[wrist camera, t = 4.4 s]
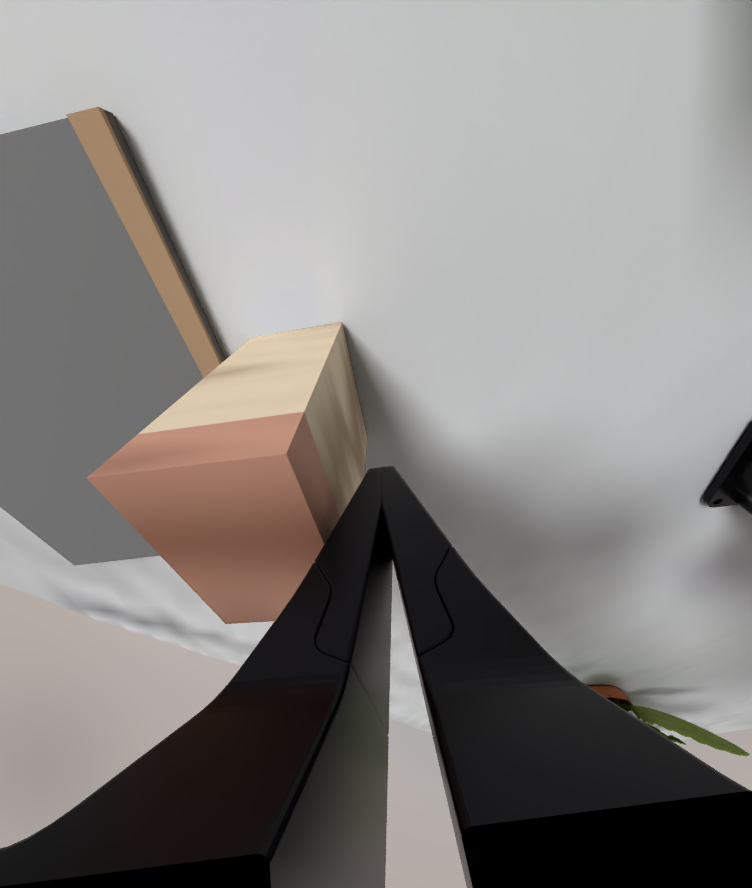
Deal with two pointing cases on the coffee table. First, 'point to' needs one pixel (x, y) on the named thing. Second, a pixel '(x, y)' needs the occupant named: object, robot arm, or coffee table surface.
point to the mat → (85, 328)
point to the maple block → (248, 471)
